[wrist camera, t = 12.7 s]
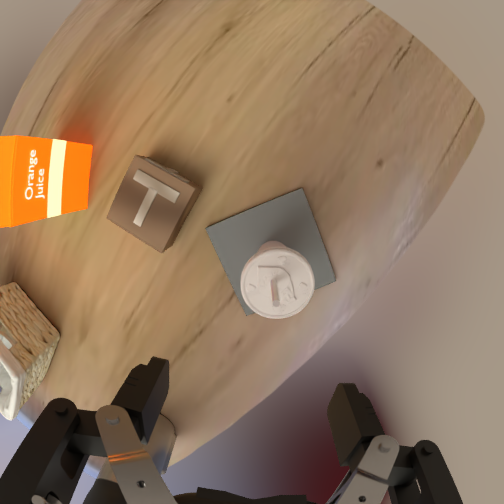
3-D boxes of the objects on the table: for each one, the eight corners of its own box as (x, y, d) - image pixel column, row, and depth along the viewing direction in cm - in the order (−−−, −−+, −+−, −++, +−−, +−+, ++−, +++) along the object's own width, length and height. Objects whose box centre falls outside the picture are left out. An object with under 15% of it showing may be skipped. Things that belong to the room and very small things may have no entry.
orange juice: (93, 144, 30) (-25, 131, 11) (88, 209, 32) (-29, 240, 13) (54, 147, 30) (-54, 143, 11) (50, 206, 32) (-56, 232, 13)
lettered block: (172, 245, 33) (160, 253, 29) (121, 213, 32) (105, 218, 28) (204, 186, 31) (195, 187, 27) (149, 155, 31) (135, 153, 26)
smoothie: (274, 217, 31) (285, 244, 18) (311, 257, 32) (344, 308, 19) (234, 255, 32) (216, 307, 19) (271, 292, 33) (277, 361, 20)
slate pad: (335, 279, 33) (336, 280, 33) (246, 313, 35) (246, 315, 34) (301, 187, 31) (302, 188, 30) (206, 227, 32) (205, 228, 32)
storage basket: (43, 388, 42) (10, 426, 28) (-2, 338, 40) (-38, 367, 26) (68, 333, 38) (18, 380, 23) (13, 269, 35) (-42, 297, 21)
